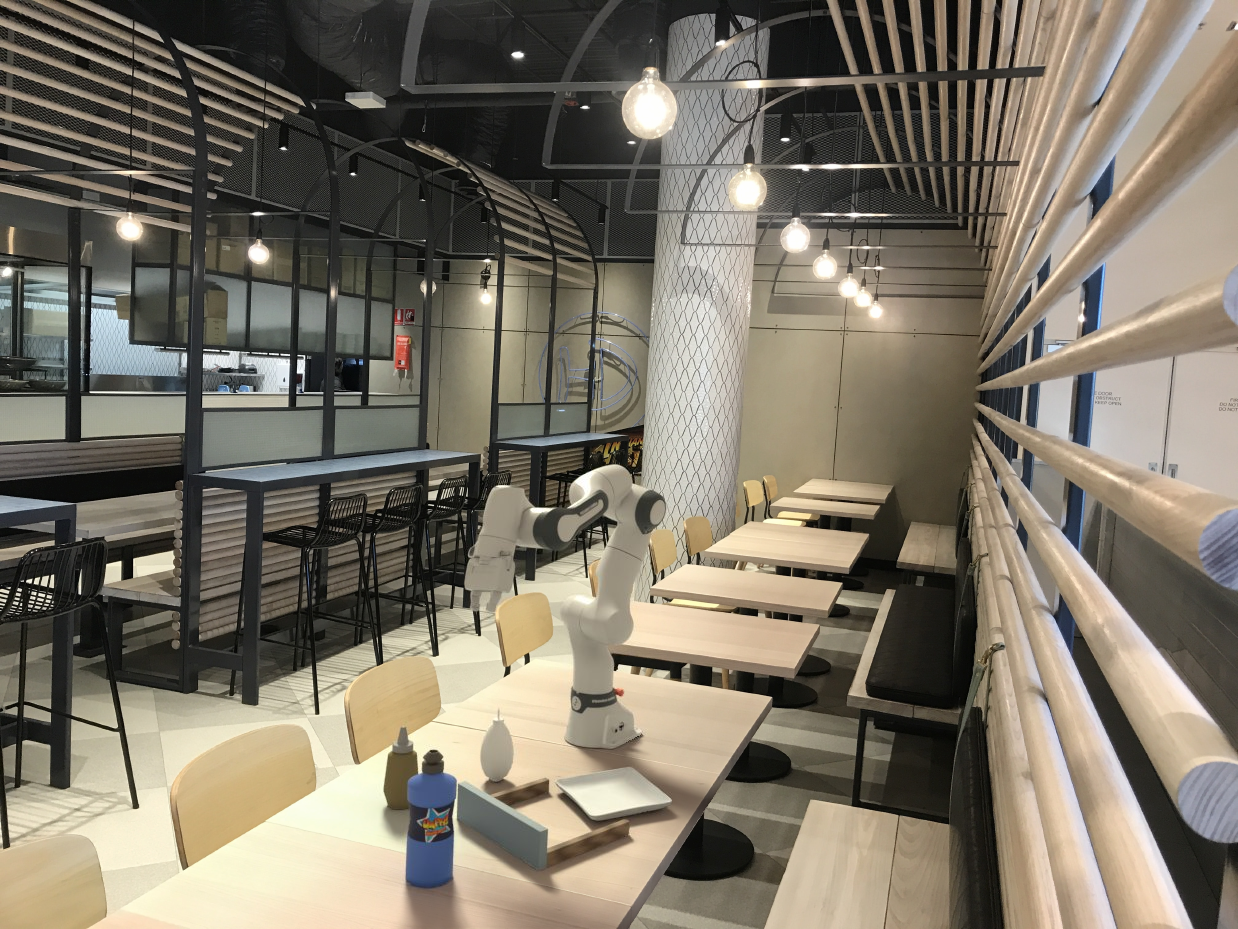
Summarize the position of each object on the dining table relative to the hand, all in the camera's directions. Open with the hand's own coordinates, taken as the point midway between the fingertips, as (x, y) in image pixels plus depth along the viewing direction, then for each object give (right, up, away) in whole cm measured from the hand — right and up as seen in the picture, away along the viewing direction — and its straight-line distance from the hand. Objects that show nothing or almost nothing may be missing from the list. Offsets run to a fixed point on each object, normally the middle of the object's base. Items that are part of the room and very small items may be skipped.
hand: (482, 611), depth 217 cm
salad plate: (+30, -46, +6) cm, 55 cm away
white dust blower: (+1, -44, +14) cm, 46 cm away
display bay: (+15, -46, -8) cm, 49 cm away
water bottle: (-6, -47, -32) cm, 57 cm away
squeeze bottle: (-18, -44, -1) cm, 47 cm away
